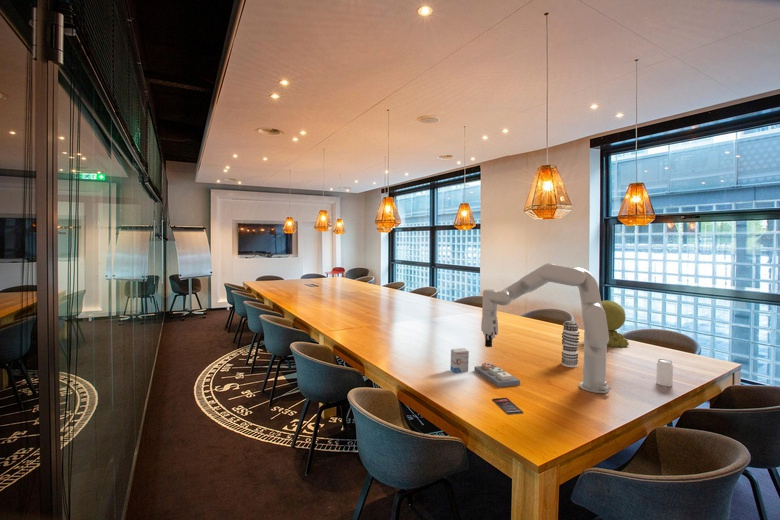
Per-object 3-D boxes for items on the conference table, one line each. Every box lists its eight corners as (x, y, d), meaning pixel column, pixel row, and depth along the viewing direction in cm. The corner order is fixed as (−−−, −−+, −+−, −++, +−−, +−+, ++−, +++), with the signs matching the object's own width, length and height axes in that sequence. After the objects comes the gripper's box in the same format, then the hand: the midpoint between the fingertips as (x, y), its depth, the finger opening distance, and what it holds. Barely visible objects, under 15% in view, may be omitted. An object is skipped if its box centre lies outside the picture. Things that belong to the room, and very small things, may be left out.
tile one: (511, 380, 186) (511, 374, 186) (502, 381, 185) (502, 375, 185) (505, 376, 191) (506, 371, 191) (496, 377, 190) (496, 372, 190)
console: (520, 385, 186) (520, 380, 186) (498, 387, 182) (498, 382, 182) (493, 369, 209) (494, 364, 209) (474, 370, 205) (474, 366, 205)
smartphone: (506, 397, 170) (524, 412, 155) (506, 399, 170) (524, 414, 155) (491, 398, 169) (507, 414, 154) (491, 400, 169) (507, 415, 154)
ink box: (454, 373, 202) (454, 351, 201) (450, 370, 206) (450, 348, 206) (468, 371, 204) (469, 350, 203) (464, 368, 209) (464, 347, 208)
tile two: (503, 375, 194) (503, 369, 194) (494, 376, 192) (494, 370, 192) (497, 371, 199) (497, 366, 198) (489, 372, 197) (489, 367, 197)
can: (656, 381, 192) (657, 357, 191) (672, 384, 188) (673, 360, 187) (655, 384, 187) (656, 361, 186) (671, 388, 183) (672, 363, 182)
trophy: (582, 338, 275) (583, 297, 274) (613, 339, 274) (614, 298, 273) (598, 347, 253) (599, 303, 251) (631, 347, 252) (633, 303, 250)
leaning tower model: (580, 368, 211) (582, 324, 210) (563, 366, 213) (564, 323, 211) (576, 362, 220) (577, 320, 219) (559, 361, 222) (560, 319, 220)
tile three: (495, 370, 201) (495, 365, 201) (486, 371, 199) (486, 366, 199) (490, 367, 206) (490, 362, 206) (481, 367, 204) (481, 363, 204)
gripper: (503, 315, 195) (502, 350, 196) (488, 310, 209) (487, 342, 210) (490, 315, 193) (489, 351, 194) (476, 310, 207) (475, 343, 208)
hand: (488, 346), depth 202 cm, fingers closed
